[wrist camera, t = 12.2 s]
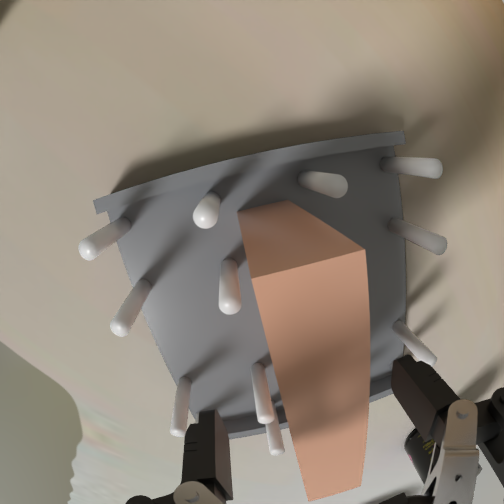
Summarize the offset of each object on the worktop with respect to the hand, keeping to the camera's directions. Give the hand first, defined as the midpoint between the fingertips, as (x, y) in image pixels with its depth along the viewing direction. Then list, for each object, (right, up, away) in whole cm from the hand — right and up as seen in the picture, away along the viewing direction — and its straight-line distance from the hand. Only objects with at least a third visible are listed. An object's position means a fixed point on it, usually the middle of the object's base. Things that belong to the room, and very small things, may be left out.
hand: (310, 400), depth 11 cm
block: (0, +3, +7) cm, 8 cm away
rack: (0, +3, +8) cm, 9 cm away
